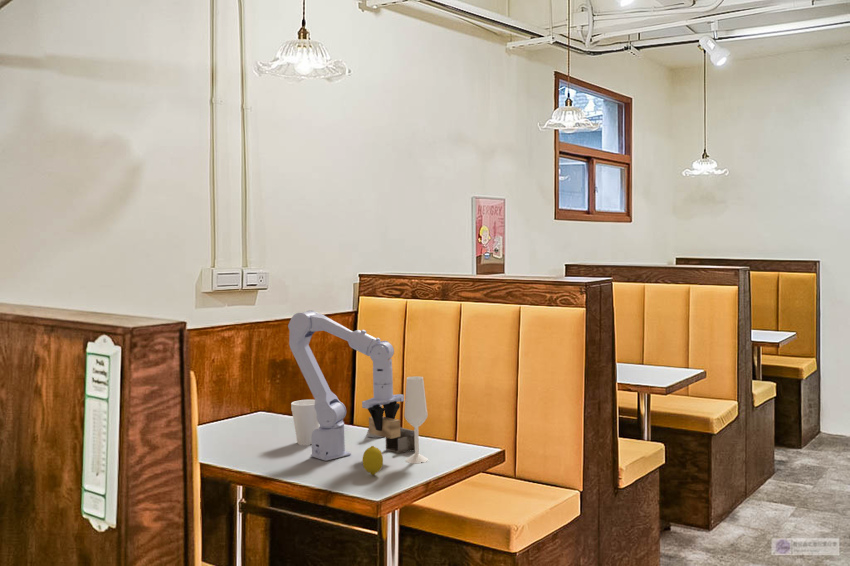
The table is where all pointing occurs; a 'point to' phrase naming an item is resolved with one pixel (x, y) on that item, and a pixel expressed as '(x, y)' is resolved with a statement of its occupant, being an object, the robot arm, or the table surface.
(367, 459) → the lemon
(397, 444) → the bracket
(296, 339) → the robot arm
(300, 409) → the foam cup
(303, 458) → the table surface
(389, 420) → the wooden block
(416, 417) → the champagne flute
